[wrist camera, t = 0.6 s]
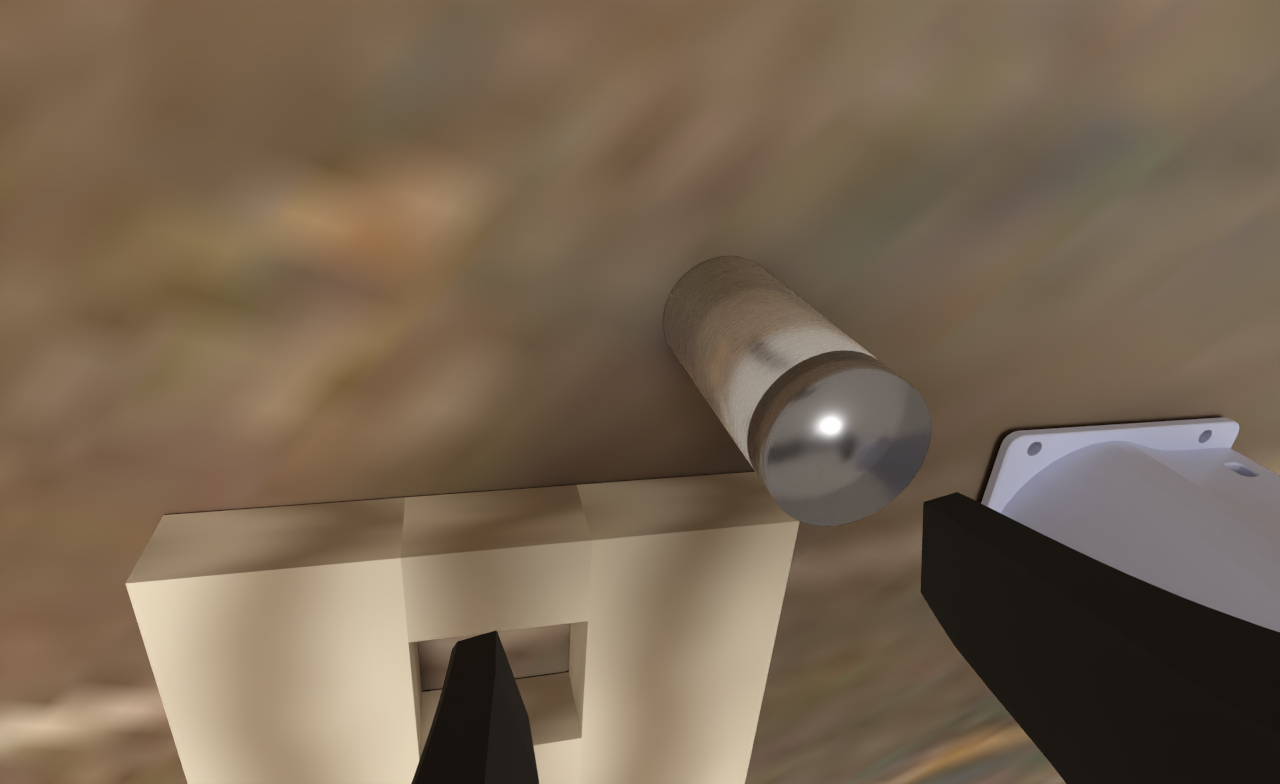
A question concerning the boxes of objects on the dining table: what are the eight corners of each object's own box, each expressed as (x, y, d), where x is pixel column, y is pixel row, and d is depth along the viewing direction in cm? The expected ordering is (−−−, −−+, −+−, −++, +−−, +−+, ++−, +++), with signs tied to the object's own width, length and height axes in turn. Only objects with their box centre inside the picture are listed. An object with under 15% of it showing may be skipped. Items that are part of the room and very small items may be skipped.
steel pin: (787, 256, 19) (950, 370, 13) (768, 368, 20) (907, 518, 14) (668, 255, 18) (783, 376, 12) (658, 372, 20) (755, 533, 13)
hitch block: (764, 470, 22) (799, 520, 20) (710, 777, 28) (732, 840, 26) (163, 515, 18) (125, 583, 16) (255, 859, 24) (237, 942, 22)
